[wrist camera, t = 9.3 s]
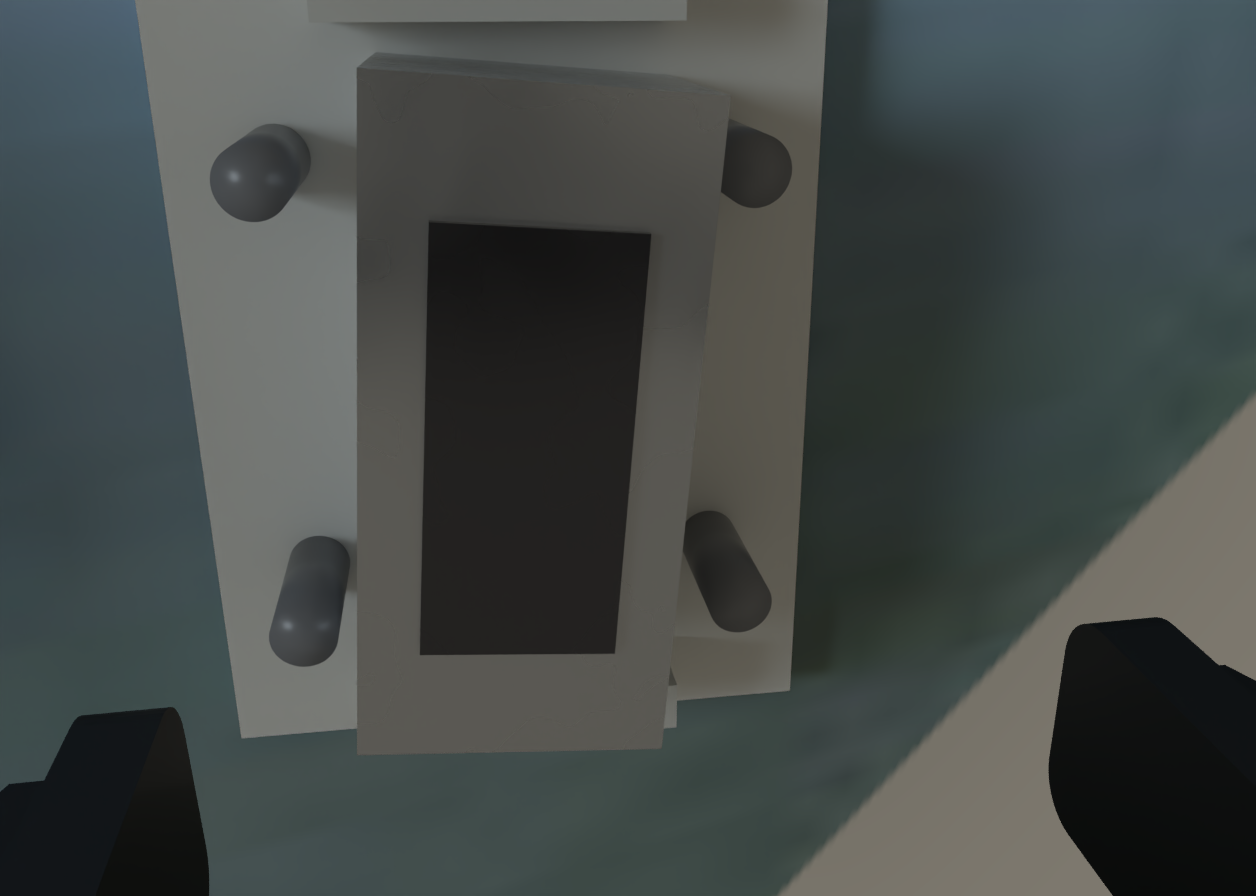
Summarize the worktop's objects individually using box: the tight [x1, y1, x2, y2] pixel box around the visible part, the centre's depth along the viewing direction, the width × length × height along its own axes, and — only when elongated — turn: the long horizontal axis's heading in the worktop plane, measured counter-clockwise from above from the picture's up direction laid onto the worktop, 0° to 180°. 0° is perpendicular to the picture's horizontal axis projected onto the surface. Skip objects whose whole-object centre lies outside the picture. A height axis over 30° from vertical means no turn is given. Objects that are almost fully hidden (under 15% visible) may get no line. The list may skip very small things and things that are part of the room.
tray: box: [135, 0, 828, 738], centre depth 22 cm, size 16×12×4 cm
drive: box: [357, 52, 731, 755], centre depth 20 cm, size 11×5×5 cm, turn 175°
